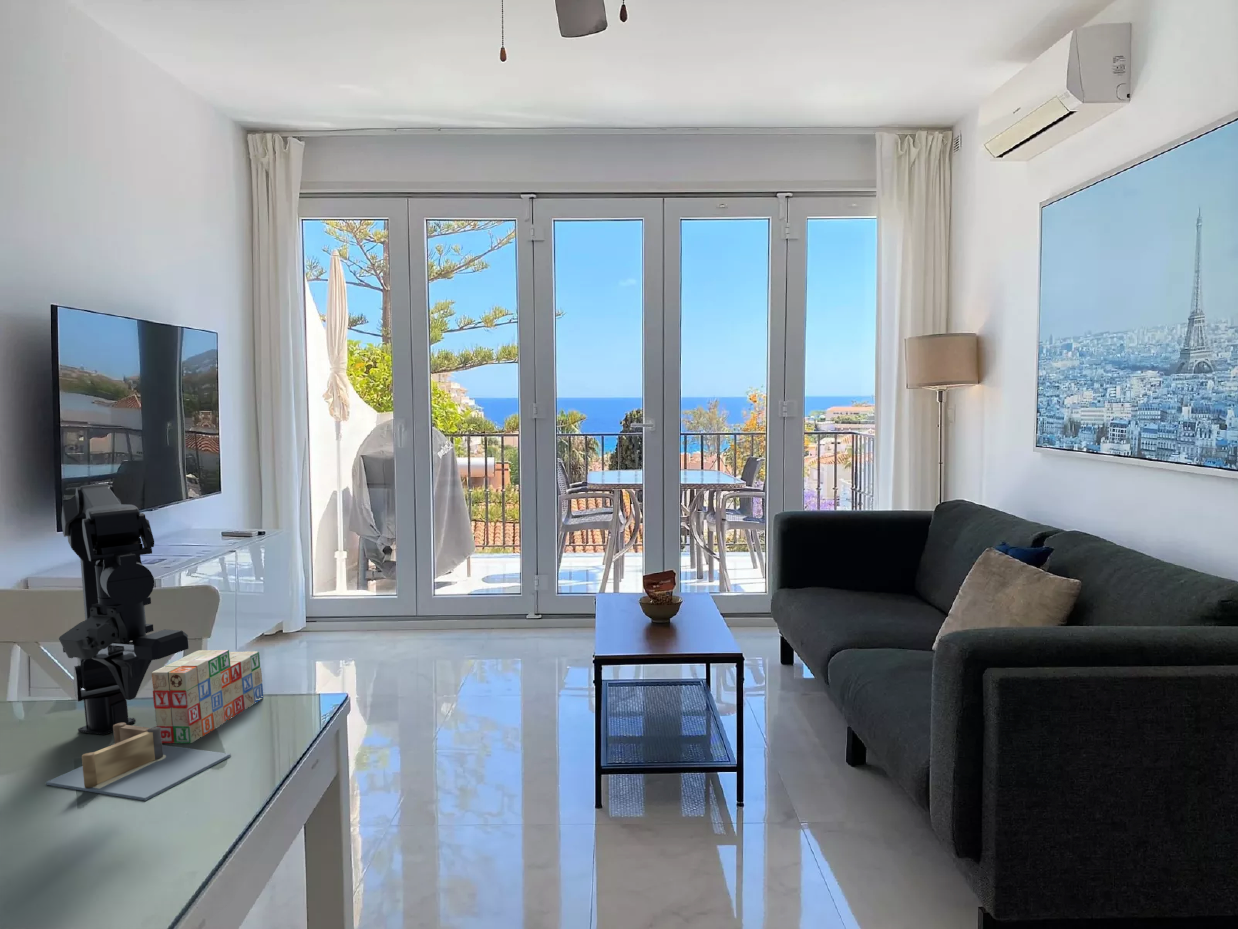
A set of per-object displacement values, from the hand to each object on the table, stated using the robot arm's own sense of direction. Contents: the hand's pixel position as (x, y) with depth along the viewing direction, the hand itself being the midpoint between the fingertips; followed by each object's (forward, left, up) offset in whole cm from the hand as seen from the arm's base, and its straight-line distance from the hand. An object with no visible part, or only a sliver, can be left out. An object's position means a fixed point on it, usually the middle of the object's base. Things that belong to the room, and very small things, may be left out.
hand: (130, 698), depth 126 cm
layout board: (-4, +4, -13) cm, 14 cm away
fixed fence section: (-8, +7, -13) cm, 17 cm away
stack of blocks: (-10, +24, -13) cm, 29 cm away
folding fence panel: (-5, +2, -12) cm, 13 cm away
